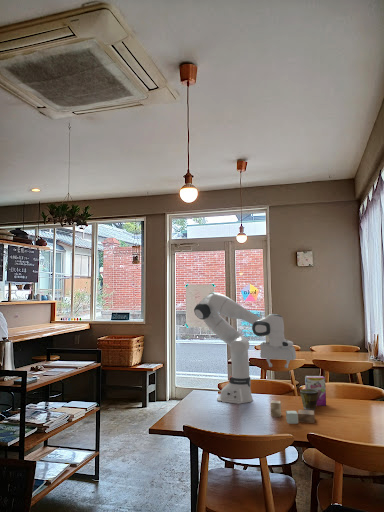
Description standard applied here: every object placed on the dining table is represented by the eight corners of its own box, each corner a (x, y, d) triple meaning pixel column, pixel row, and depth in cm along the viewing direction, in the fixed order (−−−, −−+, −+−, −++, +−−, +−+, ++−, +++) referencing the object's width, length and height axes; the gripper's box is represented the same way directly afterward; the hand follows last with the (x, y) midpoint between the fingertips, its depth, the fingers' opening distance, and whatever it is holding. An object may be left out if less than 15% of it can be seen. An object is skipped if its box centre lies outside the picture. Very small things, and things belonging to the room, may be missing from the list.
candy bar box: (307, 405, 226) (306, 377, 228) (305, 403, 231) (304, 375, 233) (326, 406, 225) (325, 377, 227) (324, 403, 230) (323, 375, 232)
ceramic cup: (304, 405, 227) (303, 388, 228) (321, 408, 221) (320, 390, 223) (296, 410, 217) (295, 392, 218) (314, 413, 211) (313, 394, 212)
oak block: (271, 416, 207) (270, 402, 208) (272, 413, 212) (271, 400, 213) (280, 416, 206) (279, 403, 207) (281, 414, 210) (280, 401, 211)
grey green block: (288, 423, 194) (287, 413, 195) (286, 420, 199) (285, 410, 200) (298, 423, 194) (297, 413, 195) (296, 420, 199) (295, 410, 200)
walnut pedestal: (298, 421, 197) (297, 413, 197) (298, 417, 204) (298, 409, 205) (314, 423, 194) (314, 414, 195) (314, 418, 202) (314, 410, 202)
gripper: (257, 342, 222) (259, 367, 220) (292, 343, 211) (294, 369, 209) (262, 341, 227) (263, 365, 225) (296, 342, 216) (297, 367, 214)
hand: (278, 367), depth 217 cm, fingers open, 8 cm apart
